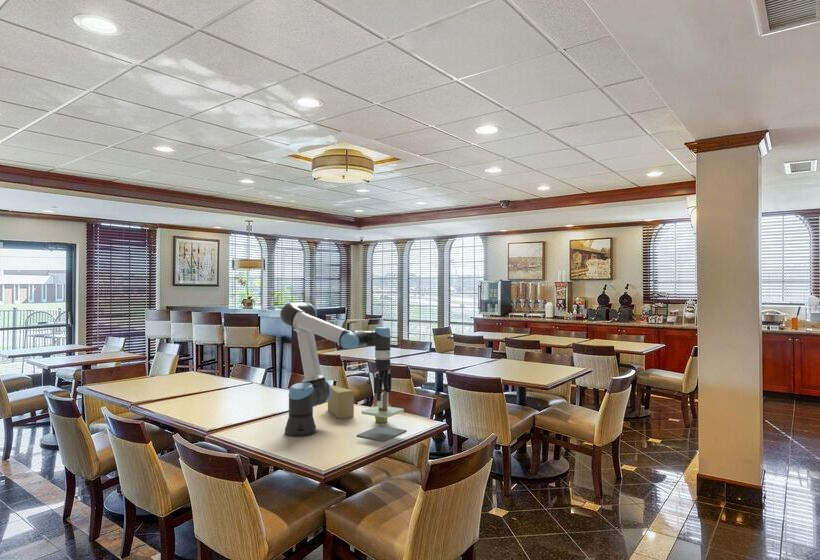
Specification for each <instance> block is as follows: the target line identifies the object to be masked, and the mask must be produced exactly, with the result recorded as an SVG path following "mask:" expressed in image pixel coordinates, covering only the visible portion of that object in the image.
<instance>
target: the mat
mask: <svg viewBox="0 0 820 560" xmlns="http://www.w3.org/2000/svg"><path fill="white" fill-rule="evenodd" d="M407 431H408V430H406V429H402V428H398V427H391V426H386V425H382V424H380V425H377V426H375V427H372V428H370V429H368V430H366V431H363V432H360V433H358V434H356V437H359V438H363V439H368V440H373V441H378V442H383V443H385V442H387V441H390V440H391V439H393V438H396V437H397V436H400V435H402V434H405V433H406V432H407Z"/></svg>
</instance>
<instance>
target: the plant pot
mask: <svg viewBox="0 0 820 560" xmlns="http://www.w3.org/2000/svg"><path fill="white" fill-rule="evenodd" d="M375 406H377V403H375V404H372V407H375ZM388 407H391V404H389V403H388ZM374 417H375V422H376V423H379V424H383V423H387V422H388V418H384V417H378V416H374Z"/></svg>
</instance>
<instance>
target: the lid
mask: <svg viewBox="0 0 820 560" xmlns="http://www.w3.org/2000/svg"><path fill="white" fill-rule="evenodd" d="M381 394H383V408H379V407H377V406H375V407H373V406H372V407H369V408H367V409H364V410H362V411H361V415H367V416H373V417H375V416H378V417H384V418H387V419H388V418H391V417H393V416H395V415H398V414H400V413H404V411H405V408H402V407H394V406H390V407H388V406H387V393H383V392H382V393H381Z"/></svg>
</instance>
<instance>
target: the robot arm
mask: <svg viewBox="0 0 820 560" xmlns="http://www.w3.org/2000/svg"><path fill="white" fill-rule="evenodd" d="M279 313H280V314H279V315H280V319H281V321H282V322H283V324H285V325H286V326H288V327H291V328H292V330H293V331H295V332H296V336H297V341H298V347H299V352H300V358H301V364H302V369H303V370H302V371H303V375H304V377H303V380H302V382H299V383H298V382H297V383H294V384H292V385H291V386H290V387H289V389H288V418H287V422H286V425H285V428H284V434H285V435H286V436H287V437H295V438H296V437H298V438H299V437H307V436H308V437H309V436H312V435H314V434H316V432H317V426H316V424H315V419H314V414H313V413H314V407H316V406H318V405H322V404H324V403H326V402H328V399H329V397H330V395H331V387H330V385H331V384H330V383H329V382H328V381H327V380H326V378H325V375H323V374H322V371H321V367H320V366H321V365H320V361H319V355H318V350H317V345H316V338H315V335H317V336H320V337H322V338H323V339H326V340H329V341H332V342H334V343H336V344H339V345H341V346H342V348H343V349H345V350H354V349H357V348H363V347H374V348H375V349H374V358H375V359H374V363H375V364H374V367H375V368H376V372H374V373H372V375H373V394H375V395H376V402H377V403H376V404H377V407H379V408H383V394H381V393H387V406H388V404H389V398H390V397H389V394H390V392H391V390H392V382H393V381H392V374H393V370H392V369H390V368H389V367H391V359H390V358H391V337H392V335H391V329H390V328H389V327H387V326H377V327H375V329H374V330H355V331H351V330H348V329H347V328H343V327H342V326H339V325H335V324H333V323H331V322H328V321H326V320H323V319H320V318H318V310H317V309H316V307H315V305H313V304H312V303H310V302H305V301H303V302H289V303H286V304H285V305H283V306H282V308H281V310H280V312H279Z"/></svg>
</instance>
